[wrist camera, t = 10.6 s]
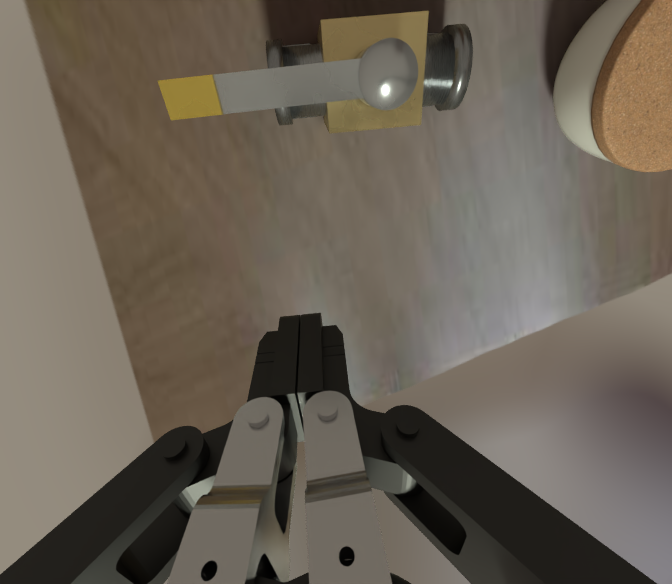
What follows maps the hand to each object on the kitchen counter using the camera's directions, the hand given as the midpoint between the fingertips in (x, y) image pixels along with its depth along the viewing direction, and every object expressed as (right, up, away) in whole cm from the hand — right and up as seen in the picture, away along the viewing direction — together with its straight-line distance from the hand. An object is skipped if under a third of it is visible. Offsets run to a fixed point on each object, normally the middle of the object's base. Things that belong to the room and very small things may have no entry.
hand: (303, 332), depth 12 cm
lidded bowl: (+24, +21, +16) cm, 35 cm away
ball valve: (+3, +19, +14) cm, 24 cm away
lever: (-1, +14, +8) cm, 16 cm away
